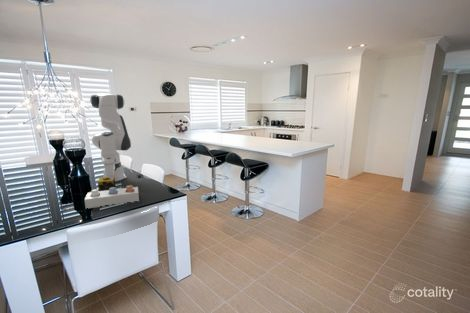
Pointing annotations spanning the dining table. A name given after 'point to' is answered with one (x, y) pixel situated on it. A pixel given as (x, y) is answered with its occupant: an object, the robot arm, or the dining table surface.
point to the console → (111, 198)
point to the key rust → (129, 188)
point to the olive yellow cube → (106, 183)
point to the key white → (95, 192)
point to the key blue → (112, 190)
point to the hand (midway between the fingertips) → (111, 179)
